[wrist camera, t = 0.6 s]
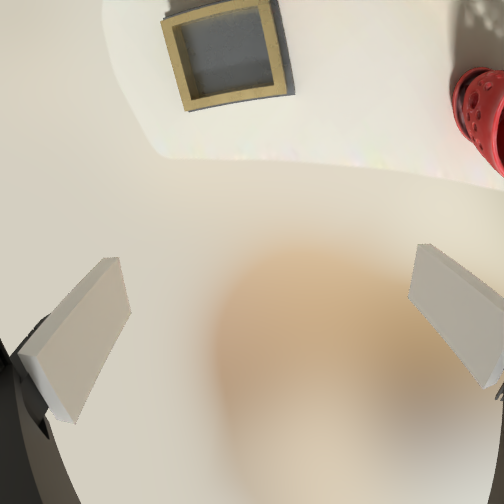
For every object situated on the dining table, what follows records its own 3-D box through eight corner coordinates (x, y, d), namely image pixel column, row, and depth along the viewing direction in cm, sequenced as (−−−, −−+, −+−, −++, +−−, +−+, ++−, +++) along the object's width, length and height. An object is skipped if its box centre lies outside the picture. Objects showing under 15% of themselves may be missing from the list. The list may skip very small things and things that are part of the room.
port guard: (165, 18, 28) (152, 18, 25) (275, -9, 25) (272, -13, 22) (190, 110, 37) (180, 118, 34) (295, 93, 33) (294, 99, 31)
